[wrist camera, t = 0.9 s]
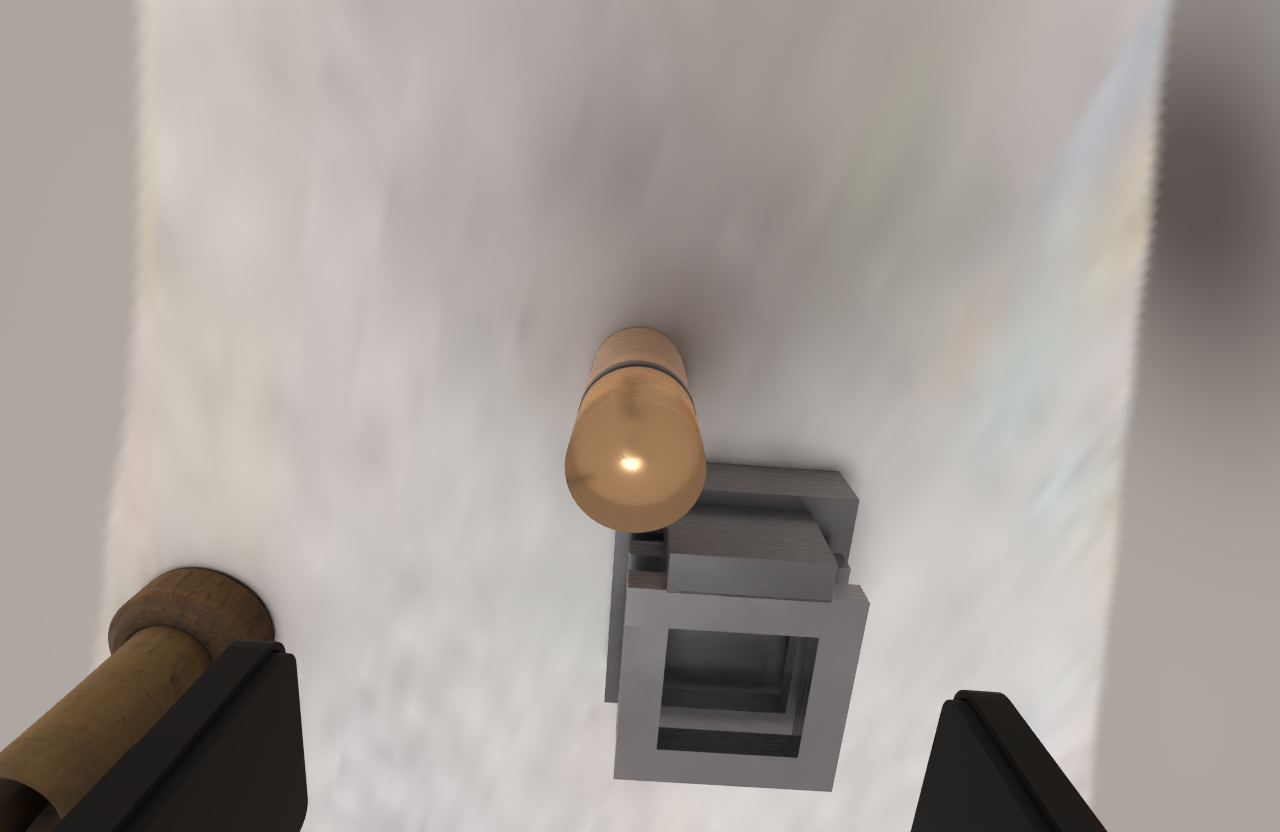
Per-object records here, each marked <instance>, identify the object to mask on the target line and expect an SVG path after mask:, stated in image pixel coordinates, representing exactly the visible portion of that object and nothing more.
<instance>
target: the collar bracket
mask: <svg viewBox="0 0 1280 832" xmlns="http://www.w3.org/2000/svg"><path fill="white" fill-rule="evenodd" d="M858 504H859V499H858V497H857V496H856V495H855V493H854V492H853V490H852V489H851V488H850V486H849V485H848V483H847V482H846V481H845V479H844V478H843V476H842V475H841V474H840V472H833V471H818V470H803V469H788V468H774V467H759V466H744V465H729V464H714V463H706V478H705V483H704V486H703V489H702V491H701V494H700V496H699V498H698V499H697V501H696V502H695V504H694V505H693V506H692V508H691V509H690V510H689V511H688V512H687V513H686V514H685V515H684V516H682V517H681V518H680V519H678V520H677V521H675V522H674V523H672V524H670V525H668V526H666V527H664V528H661V529H658V530H654V531H650V532H642V533H630V532H622V531H618V530H616V536H615V551H614V566H613V581H612V596H611V611H610V626H609V641H608V656H607V671H606V686H605V701H604V702H611V703H618V705H617V721H616V746H615V761H614V779H622V780H639V781H656V782H673V783H690V784H707V785H724V786H741V787H758V788H775V789H792V790H809V791H826V792H832V788H833V783H834V778H835V773H836V768H837V763H838V758H839V753H840V748H841V743H842V738H843V733H844V728H845V723H846V718H847V714H848V709H849V704H850V699H851V694H852V689H853V684H854V679H855V674H856V669H857V664H858V659H859V654H860V649H861V645H862V640H863V635H864V630H865V625H866V620H867V615H868V610H869V605H870V602H869V601H868V599H867V597H866V595H865V594H864V592H863V590H862V588H861V586H860V585H850V584H848V580H849V574H850V569H851V568H850V567H849V565H848V557H849V552H850V547H851V541H852V536H853V531H854V525H855V520H856V515H857V509H858Z"/></svg>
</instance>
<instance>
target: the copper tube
mask: <svg viewBox="0 0 1280 832" xmlns="http://www.w3.org/2000/svg"><path fill="white" fill-rule="evenodd" d="M565 475H566V481H567V484H568V487H569V490H570V492H571V494H572V496H573V498H574V500H575V501H576V503H577V504H578V506H579V507H580V508H581V509H582V510H583V511H584V512H585V513H586V514H587V515H588V516H589V517H590V518H592V519H593V520H595V521H596V522H598V523H600V524H602V525H604V526H606V527H608V528H611V529H614V530H618V531H622V532H630V533H642V532H650V531H654V530H658V529H661V528H664V527H666V526H668V525H670V524H672V523H674V522H675V521H677V520H678V519H680V518H681V517H682V516H684V515H685V514H686V513H687V512H688V511H689V510H690V509H691V508H692V506H693V505H694V504H695V502H696V501H697V499H698V498H699V496H700V494H701V491H702V489H703V486H704V483H705V478H706V456H705V452H704V448H703V444H702V440H701V436H700V431H699V427H698V423H697V419H696V412H695V408H694V404H693V400H692V397H691V394H690V390H689V386H688V381H687V377H686V373H685V369H684V365H683V361H682V357H681V355H680V353H679V351H678V349H677V347H676V346H675V345H674V343H673V342H672V341H671V340H670V339H669V338H667V337H666V336H665V335H663V334H661V333H660V332H657V331H655V330H652V329H648V328H642V327H635V328H628V329H624V330H621V331H619V332H617V333H615V334H613V335H612V336H611V337H609V338H608V339H607V340H606V341H605V342H604V343H603V344H602V345H601V347H600V348H599V350H598V352H597V354H596V356H595V359H594V362H593V366H592V369H591V372H590V376H589V379H588V382H587V386H586V389H585V392H584V395H583V397H582V400H581V404H580V407H579V411H578V416H577V419H576V422H575V426H574V429H573V432H572V436H571V439H570V442H569V446H568V449H567V453H566V459H565Z"/></svg>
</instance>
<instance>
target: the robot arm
mask: <svg viewBox="0 0 1280 832" xmlns="http://www.w3.org/2000/svg"><path fill="white" fill-rule="evenodd" d="M307 806H308V796H307V784H306V772H305V760H304V748H303V736H302V724H301V712H300V701H299V689H298V677H297V665H296V659H295V657H294V655H293V654H290V653H286V652H285V648H284V646H283V644H282V643H280V642H273V641H259V640H245V639H239V640H236V641H234V642H233V643H232V644H230V645H229V646H228V647H227V649H226V650H225V651H224V652H223V653H222V654H221V655H220V656H219V657H218V658H217V659H216V660H215V661H214V662H213V663H212V664H211V665H210V666H209V667H208V669H207V670H206V671H205V672H204V673H203V674H202V675H201V676H200V677H199V678H198V679H197V680H196V681H195V682H194V683H193V684H192V685H191V686H190V687H189V689H188V690H187V691H186V692H185V693H184V694H183V695H182V696H181V697H180V698H179V699H178V700H177V701H176V702H175V703H174V704H173V705H172V706H171V708H170V709H169V710H168V711H167V712H166V713H165V714H164V715H163V716H162V717H161V718H160V719H159V720H158V721H157V722H156V723H155V724H154V725H153V726H152V728H151V729H150V730H149V731H148V732H147V733H146V734H145V735H144V736H143V737H142V738H141V739H140V740H139V741H138V742H137V743H136V744H135V745H133V746H132V747H131V748H130V749H129V750H128V751H127V752H126V753H125V754H124V755H123V756H122V757H121V758H120V759H119V760H118V761H117V762H116V763H115V764H114V765H113V766H112V768H111V769H110V770H109V771H108V772H107V773H106V774H105V775H104V776H103V777H102V778H101V779H100V780H99V781H98V782H97V783H96V784H95V785H94V786H93V787H92V789H91V790H90V791H89V792H88V793H87V794H86V795H85V796H84V797H83V798H82V799H81V800H80V801H79V802H78V803H77V804H76V805H75V806H74V807H73V808H72V810H71V811H70V812H69V813H68V814H67V815H66V816H65V817H64V818H63V819H62V820H61V821H60V822H59V823H58V824H57V825H56V826H55V827H54V828H53V829H52V830H51V832H300V830H301V828H302V825H303V823H304V820H305V816H306V812H307ZM911 832H1107V830H1106V829H1105V828H1104V827H1103V825H1102V824H1101V822H1100V821H1099V820H1098V818H1097V817H1096V816H1095V814H1094V813H1093V812H1092V810H1091V809H1090V808H1089V806H1088V805H1087V804H1086V802H1085V801H1084V800H1083V798H1082V797H1081V795H1080V794H1079V793H1078V791H1077V790H1076V789H1075V787H1074V786H1073V785H1072V783H1071V782H1070V781H1069V779H1068V778H1067V777H1066V775H1065V774H1064V773H1063V771H1062V770H1061V769H1060V767H1059V766H1058V764H1057V763H1056V762H1055V760H1054V759H1053V758H1052V756H1051V755H1050V754H1049V752H1048V751H1047V750H1046V748H1045V747H1044V746H1043V744H1042V743H1041V742H1040V740H1039V739H1038V738H1037V736H1036V735H1035V734H1034V732H1033V731H1032V729H1031V728H1030V727H1029V725H1028V724H1027V723H1026V721H1025V720H1024V719H1023V717H1022V716H1021V715H1020V713H1019V712H1018V711H1017V709H1016V708H1015V707H1014V705H1013V704H1012V703H1011V701H1010V700H1009V699H1008V698H1007V697H1006V696H1005V695H1004V694H1002V693H999V692H986V691H972V690H960V691H958V692H957V693H956V694H955V697H954V699H953V700H946V701H945V702H944V704H943V707H942V710H941V714H940V718H939V722H938V726H937V730H936V734H935V738H934V741H933V745H932V749H931V753H930V757H929V761H928V765H927V769H926V773H925V777H924V781H923V785H922V789H921V793H920V797H919V801H918V805H917V809H916V813H915V817H914V821H913V825H912V829H911Z"/></svg>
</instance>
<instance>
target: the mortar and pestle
mask: <svg viewBox="0 0 1280 832" xmlns="http://www.w3.org/2000/svg"><path fill="white" fill-rule="evenodd" d="M239 639H245V640H259V641H273V627H272V623H271V620H270V617H269V615H268V613H267V611H266V609H265V608H264V606H263V605H262V603H261V602H260V600H259V599H258V598H257V597H256V596H255V595H254V594H253V593H252V592H251V591H250V590H248V589H247V588H245V587H244V586H242V585H240V584H239V583H237V582H235V581H234V580H232V579H231V578H230V577H228V576H225V575H223V574H220V573H217V572H213V571H210V570H205V569H196V568H189V569H179V570H174V571H170V572H168V573H165V574H163V575H161V576H159V577H157V578H156V579H154V580H153V581H152V582H150V583H149V584H148V585H146V586H145V587H144V588H143V589H142V590H141V591H139V592H138V593H137V594H136V595H135V596H133V597H132V598H131V599H130V600H128V601H127V602H126V603H125V604H124V605H123V606H122V607H121V608H120V609H119V610H118V611H117V613H116V614H115V616H114V617H113V619H112V621H111V624H110V627H109V632H108V643H109V648H110V652H111V656H110V657H109V658H108V659H107V660H106V661H104V662H103V663H102V664H101V665H100V666H99V667H98V668H97V669H95V670H94V671H93V672H92V673H91V674H90V675H89V676H88V677H86V678H85V679H84V680H83V681H82V682H81V683H80V684H79V685H77V686H76V687H75V688H74V689H73V690H72V691H71V692H70V693H68V694H67V695H66V696H65V697H64V698H63V699H62V700H60V701H59V702H58V703H57V704H56V705H55V706H54V707H52V708H51V709H50V710H49V711H48V712H47V713H45V714H44V715H43V716H42V717H41V718H40V719H39V720H37V721H36V722H35V723H34V724H33V725H32V726H30V727H29V728H28V729H27V730H26V731H25V732H23V733H22V734H21V735H20V736H19V737H18V738H16V739H15V740H14V741H13V742H12V743H11V744H9V745H8V746H7V747H6V748H5V749H4V750H2V751H1V752H0V832H51V830H52V829H53V828H54V827H55V826H56V825H57V824H58V823H59V822H60V821H61V820H62V819H63V818H64V817H65V816H66V815H67V814H68V813H69V812H70V811H71V810H72V808H73V807H74V806H75V805H76V804H77V803H78V802H79V801H80V800H81V799H82V798H83V797H84V796H85V795H86V794H87V793H88V792H89V791H90V790H91V789H92V787H93V786H94V785H95V784H96V783H97V782H98V781H99V780H100V779H101V778H102V777H103V776H104V775H105V774H106V773H107V772H108V771H109V770H110V769H111V768H112V766H113V765H114V764H115V763H116V762H117V761H118V760H119V759H120V758H121V757H122V756H123V755H124V754H125V753H126V752H127V751H128V750H129V749H130V748H131V747H132V746H133V745H135V744H136V743H137V742H138V741H139V740H140V739H141V738H142V737H143V736H144V735H145V734H146V733H147V732H148V731H149V730H150V729H151V728H152V726H153V725H154V724H155V723H156V722H157V721H158V720H159V719H160V718H161V717H162V716H163V715H164V714H165V713H166V712H167V711H168V710H169V709H170V708H171V706H172V705H173V704H174V703H175V702H176V701H177V700H178V699H179V698H180V697H181V696H182V695H183V694H184V693H185V692H186V691H187V690H188V689H189V687H190V686H191V685H192V684H193V683H194V682H195V681H196V680H197V679H198V678H199V677H200V676H201V675H202V674H203V673H204V672H205V671H206V670H207V669H208V667H209V666H210V665H211V664H212V663H213V662H214V661H215V660H216V659H217V658H218V657H219V656H220V655H221V654H222V653H223V652H224V651H225V650H226V649H227V647H228V646H229V645H230V644H232V643H233V642H234V641H236V640H239Z"/></svg>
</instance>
